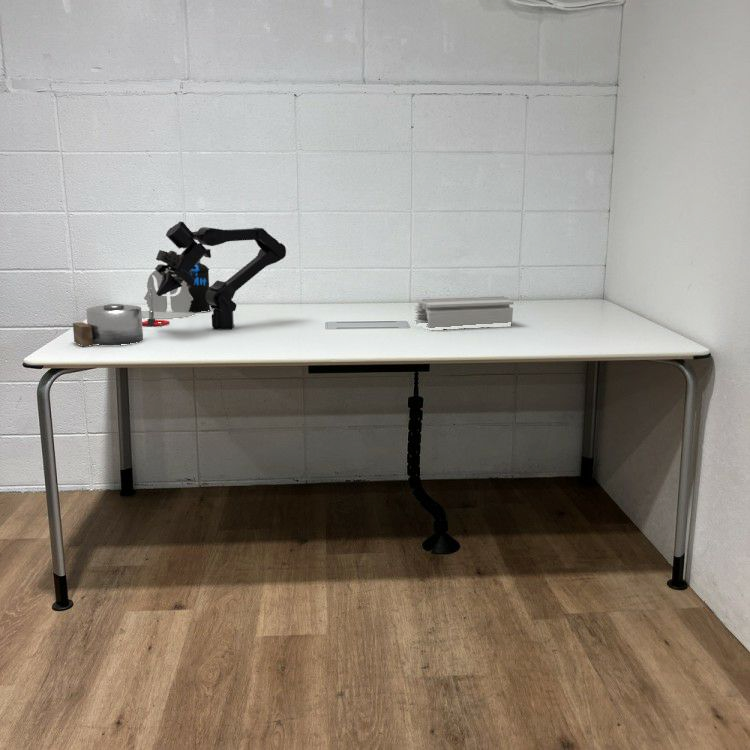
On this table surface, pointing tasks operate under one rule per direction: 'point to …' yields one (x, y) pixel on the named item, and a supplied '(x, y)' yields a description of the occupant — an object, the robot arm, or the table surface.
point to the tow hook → (151, 319)
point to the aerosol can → (199, 288)
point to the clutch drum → (115, 324)
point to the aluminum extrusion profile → (464, 311)
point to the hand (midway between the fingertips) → (157, 295)
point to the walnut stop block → (82, 334)
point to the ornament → (178, 302)
